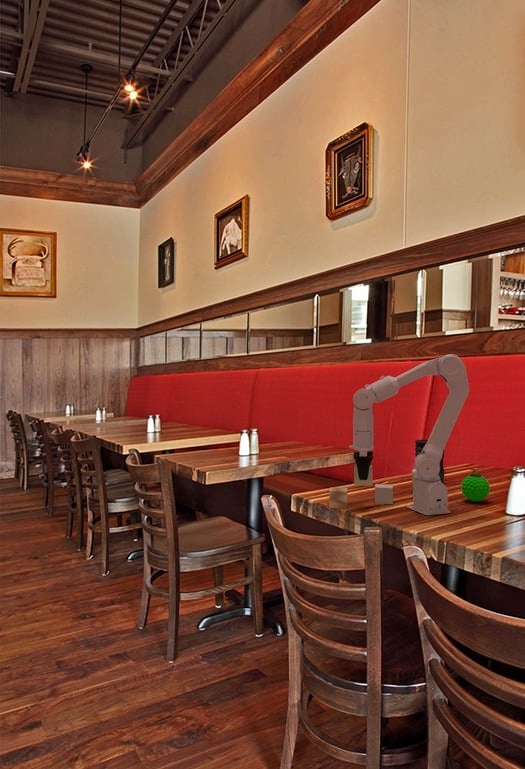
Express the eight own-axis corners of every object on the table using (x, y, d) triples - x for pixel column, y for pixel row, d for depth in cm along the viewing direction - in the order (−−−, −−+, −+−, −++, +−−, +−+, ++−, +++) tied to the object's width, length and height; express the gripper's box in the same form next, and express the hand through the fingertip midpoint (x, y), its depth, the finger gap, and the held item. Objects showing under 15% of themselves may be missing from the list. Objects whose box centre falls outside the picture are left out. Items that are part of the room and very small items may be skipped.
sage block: (371, 482, 158) (371, 465, 158) (372, 485, 153) (372, 468, 153) (354, 481, 159) (354, 464, 159) (354, 485, 154) (354, 467, 154)
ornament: (495, 504, 159) (495, 470, 159) (471, 505, 157) (471, 471, 157) (479, 498, 167) (479, 465, 167) (455, 499, 165) (455, 466, 165)
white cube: (391, 501, 164) (392, 484, 164) (392, 505, 159) (392, 488, 159) (375, 500, 164) (375, 484, 164) (375, 504, 160) (375, 487, 160)
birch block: (347, 505, 159) (347, 488, 159) (347, 509, 154) (347, 491, 154) (330, 504, 160) (330, 487, 160) (329, 508, 155) (329, 490, 155)
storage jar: (414, 485, 187) (414, 442, 187) (415, 480, 196) (415, 439, 196) (445, 487, 184) (445, 443, 184) (444, 481, 193) (444, 440, 193)
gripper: (349, 428, 163) (349, 473, 164) (348, 433, 149) (348, 482, 149) (373, 428, 162) (373, 473, 162) (374, 433, 148) (374, 483, 148)
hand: (363, 478), depth 156 cm, fingers closed on sage block, 5 cm apart
